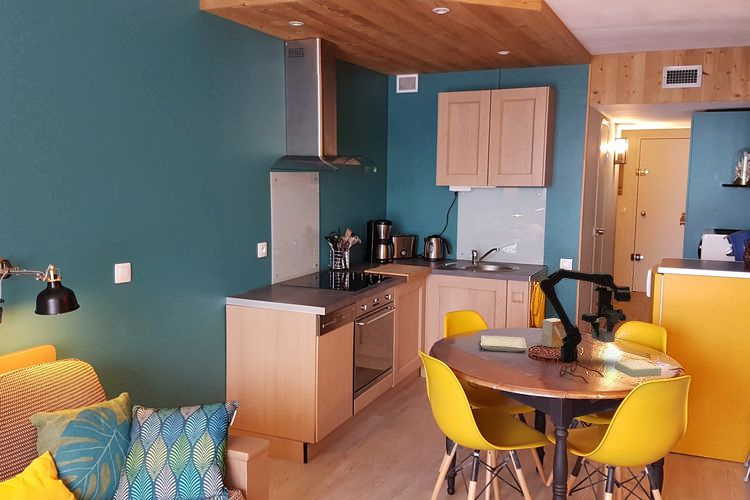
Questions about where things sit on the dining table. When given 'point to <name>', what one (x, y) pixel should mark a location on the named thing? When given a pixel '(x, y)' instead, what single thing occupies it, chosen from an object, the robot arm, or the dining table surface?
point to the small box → (552, 332)
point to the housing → (604, 336)
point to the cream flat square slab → (503, 343)
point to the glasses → (575, 369)
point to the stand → (637, 368)
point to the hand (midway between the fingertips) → (603, 336)
